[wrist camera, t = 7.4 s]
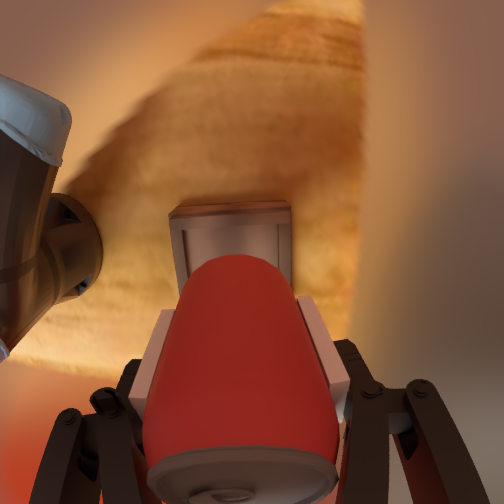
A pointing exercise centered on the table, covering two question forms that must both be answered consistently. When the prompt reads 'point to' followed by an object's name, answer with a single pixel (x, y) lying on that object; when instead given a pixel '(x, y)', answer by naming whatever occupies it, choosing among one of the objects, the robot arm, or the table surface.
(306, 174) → the table surface
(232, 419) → the beer can
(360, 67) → the table surface
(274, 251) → the walnut tray
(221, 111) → the table surface
